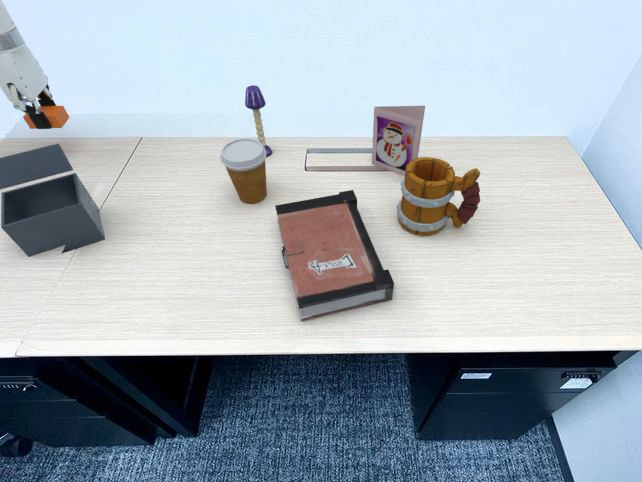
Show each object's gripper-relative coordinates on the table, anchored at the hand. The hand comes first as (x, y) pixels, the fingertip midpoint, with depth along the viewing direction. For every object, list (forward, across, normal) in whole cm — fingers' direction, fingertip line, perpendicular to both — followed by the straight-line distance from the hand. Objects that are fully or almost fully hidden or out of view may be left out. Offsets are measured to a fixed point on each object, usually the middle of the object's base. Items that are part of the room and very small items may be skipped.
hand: (49, 121), depth 95 cm
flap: (-4, +25, +7) cm, 26 cm away
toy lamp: (+8, +5, +50) cm, 51 cm away
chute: (+9, +30, +10) cm, 33 cm away
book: (+8, +43, +64) cm, 77 cm away
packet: (0, 0, 0) cm, 0 cm away
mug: (+7, +35, +87) cm, 94 cm away
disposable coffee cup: (+8, +22, +48) cm, 53 cm away
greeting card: (+7, +14, +83) cm, 84 cm away
